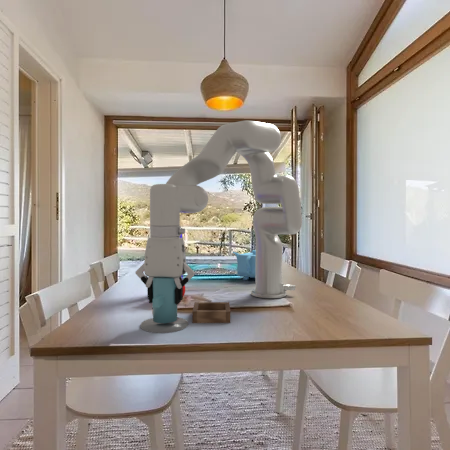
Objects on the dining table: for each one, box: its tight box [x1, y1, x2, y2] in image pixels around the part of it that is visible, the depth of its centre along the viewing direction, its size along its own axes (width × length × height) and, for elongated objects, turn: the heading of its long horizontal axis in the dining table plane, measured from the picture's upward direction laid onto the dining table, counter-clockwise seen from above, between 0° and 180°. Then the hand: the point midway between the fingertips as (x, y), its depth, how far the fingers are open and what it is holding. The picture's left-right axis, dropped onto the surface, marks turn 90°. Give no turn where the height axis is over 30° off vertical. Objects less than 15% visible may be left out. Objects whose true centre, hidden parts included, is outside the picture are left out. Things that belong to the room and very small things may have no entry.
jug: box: [152, 277, 178, 323], centre depth 92 cm, size 10×6×11 cm, turn 171°
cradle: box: [191, 301, 231, 324], centre depth 102 cm, size 10×10×4 cm
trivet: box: [140, 316, 189, 334], centre depth 94 cm, size 12×12×1 cm
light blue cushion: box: [232, 249, 256, 281], centre depth 165 cm, size 18×16×13 cm
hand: (165, 301), depth 94 cm, fingers closed on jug, 6 cm apart
